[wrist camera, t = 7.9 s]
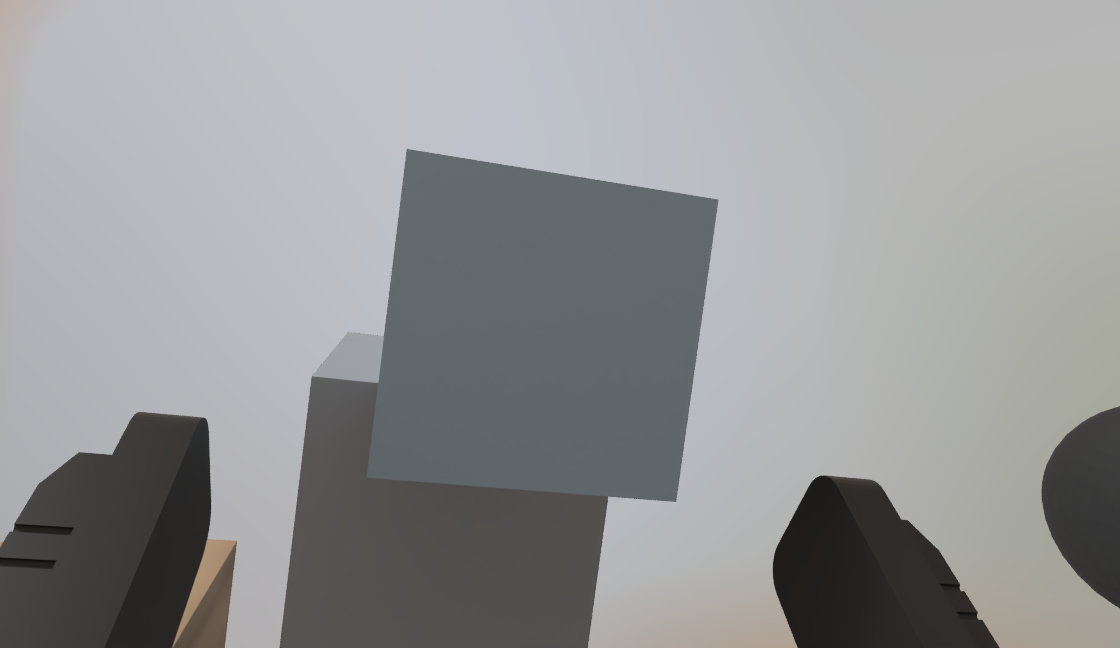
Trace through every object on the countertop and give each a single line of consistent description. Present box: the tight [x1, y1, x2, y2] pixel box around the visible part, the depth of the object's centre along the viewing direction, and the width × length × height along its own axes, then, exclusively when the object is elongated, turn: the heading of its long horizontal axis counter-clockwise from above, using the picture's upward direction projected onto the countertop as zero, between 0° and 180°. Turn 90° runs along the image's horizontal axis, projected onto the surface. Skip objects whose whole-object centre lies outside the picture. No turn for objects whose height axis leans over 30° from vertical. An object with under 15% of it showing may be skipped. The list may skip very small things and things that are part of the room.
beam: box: [367, 149, 718, 502], centre depth 21 cm, size 4×22×4 cm, turn 12°
